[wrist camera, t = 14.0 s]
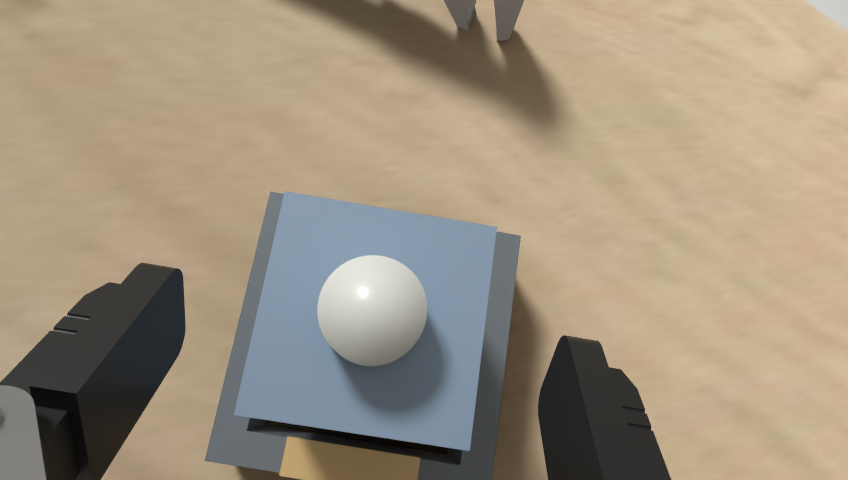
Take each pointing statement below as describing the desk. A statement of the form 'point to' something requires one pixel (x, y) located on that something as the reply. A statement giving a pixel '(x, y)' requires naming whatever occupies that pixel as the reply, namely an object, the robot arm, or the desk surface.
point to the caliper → (506, 15)
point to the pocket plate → (353, 459)
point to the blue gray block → (370, 322)
